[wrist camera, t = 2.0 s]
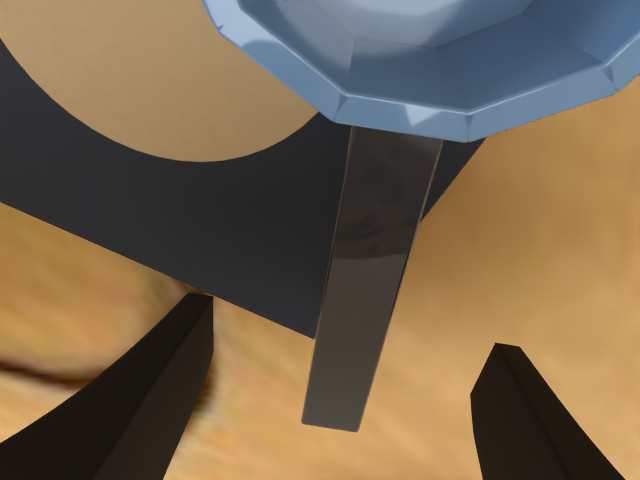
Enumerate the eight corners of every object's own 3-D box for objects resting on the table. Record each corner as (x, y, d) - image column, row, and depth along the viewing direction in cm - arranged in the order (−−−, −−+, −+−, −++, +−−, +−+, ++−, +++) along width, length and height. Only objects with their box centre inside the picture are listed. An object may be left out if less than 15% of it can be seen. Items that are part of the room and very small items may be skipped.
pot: (233, -546, 8) (40, -1217, 3) (773, -464, 8) (1351, -1019, 3) (223, 289, 18) (173, 413, 13) (455, 325, 18) (484, 461, 13)
